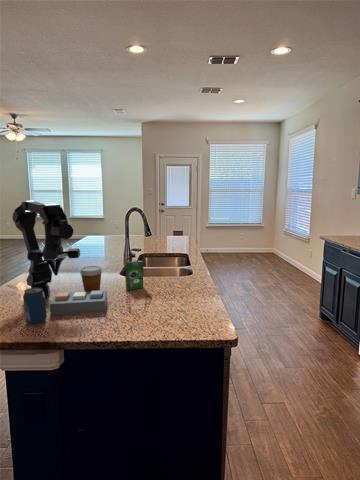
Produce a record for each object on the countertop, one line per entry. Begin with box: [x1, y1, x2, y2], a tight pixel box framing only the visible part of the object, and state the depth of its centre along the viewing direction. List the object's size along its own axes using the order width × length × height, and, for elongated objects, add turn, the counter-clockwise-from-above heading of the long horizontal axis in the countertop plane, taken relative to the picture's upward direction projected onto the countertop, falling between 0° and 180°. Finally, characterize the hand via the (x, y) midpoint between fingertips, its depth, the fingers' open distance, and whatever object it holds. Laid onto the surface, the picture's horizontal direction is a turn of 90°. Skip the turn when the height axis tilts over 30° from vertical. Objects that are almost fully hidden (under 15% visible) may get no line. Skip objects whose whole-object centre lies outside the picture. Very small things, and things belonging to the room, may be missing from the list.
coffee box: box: [125, 260, 145, 291], centre depth 147 cm, size 8×3×13 cm, turn 119°
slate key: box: [90, 289, 104, 299], centre depth 126 cm, size 4×4×4 cm
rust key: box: [54, 291, 70, 301], centre depth 124 cm, size 4×4×4 cm
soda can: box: [22, 287, 48, 326], centre depth 111 cm, size 7×7×12 cm
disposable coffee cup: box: [79, 265, 103, 292], centre depth 139 cm, size 10×10×12 cm
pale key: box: [73, 291, 86, 300], centre depth 125 cm, size 4×4×4 cm
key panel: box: [49, 290, 108, 316], centre depth 125 cm, size 20×12×4 cm, turn 99°
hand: (56, 275), depth 124 cm, fingers closed
